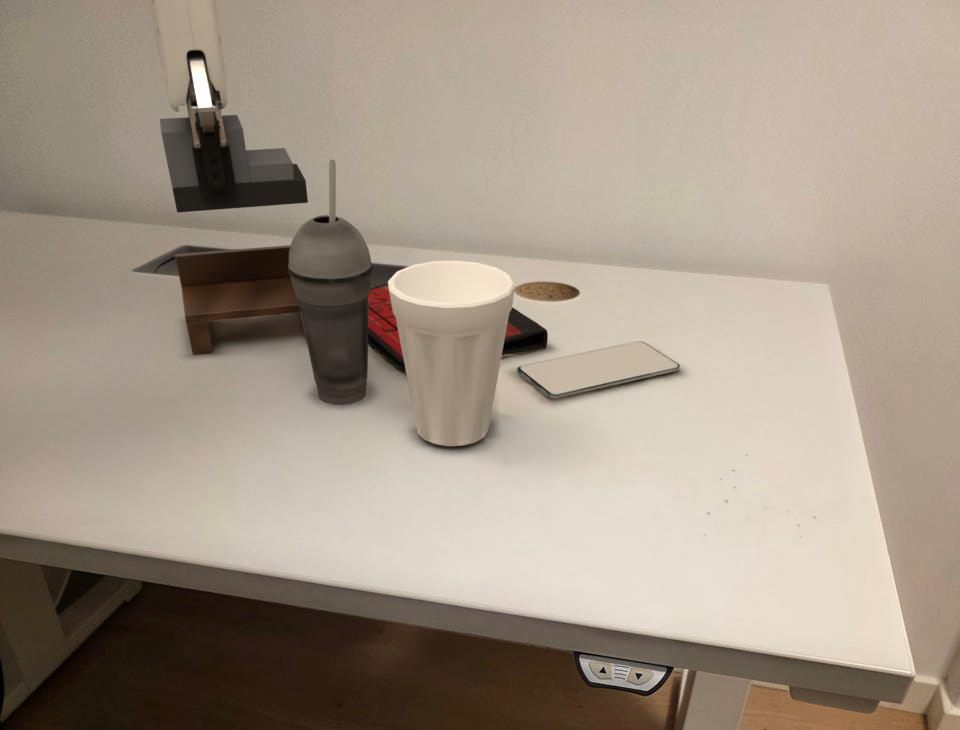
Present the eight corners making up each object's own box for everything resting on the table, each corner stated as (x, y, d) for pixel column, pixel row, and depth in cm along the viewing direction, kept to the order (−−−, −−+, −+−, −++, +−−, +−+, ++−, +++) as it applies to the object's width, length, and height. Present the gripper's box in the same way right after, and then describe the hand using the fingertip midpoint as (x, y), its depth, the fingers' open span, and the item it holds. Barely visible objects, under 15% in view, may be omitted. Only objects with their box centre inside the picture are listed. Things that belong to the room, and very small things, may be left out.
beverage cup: (335, 370, 88) (313, 142, 75) (396, 388, 85) (384, 155, 72) (286, 399, 83) (254, 161, 70) (350, 419, 81) (328, 175, 68)
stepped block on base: (177, 212, 83) (161, 133, 78) (174, 194, 87) (159, 118, 83) (308, 202, 85) (299, 125, 81) (299, 185, 89) (290, 111, 85)
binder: (451, 263, 105) (549, 327, 91) (452, 283, 106) (549, 349, 93) (323, 292, 99) (407, 365, 85) (326, 313, 101) (409, 387, 87)
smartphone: (514, 366, 88) (642, 340, 93) (514, 372, 88) (641, 345, 93) (550, 396, 83) (682, 366, 88) (550, 401, 84) (681, 371, 89)
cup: (372, 429, 79) (361, 278, 71) (458, 396, 84) (458, 251, 76) (445, 474, 74) (443, 316, 65) (533, 435, 79) (541, 284, 70)
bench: (192, 354, 91) (178, 284, 86) (188, 321, 97) (174, 253, 92) (331, 340, 94) (324, 271, 89) (318, 308, 100) (311, 243, 96)
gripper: (126, -64, 78) (171, 164, 90) (126, -47, 66) (178, 215, 78) (215, -64, 80) (247, 160, 92) (231, -48, 67) (266, 208, 79)
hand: (215, 183), depth 85 cm, fingers closed on stepped block on base, 6 cm apart
